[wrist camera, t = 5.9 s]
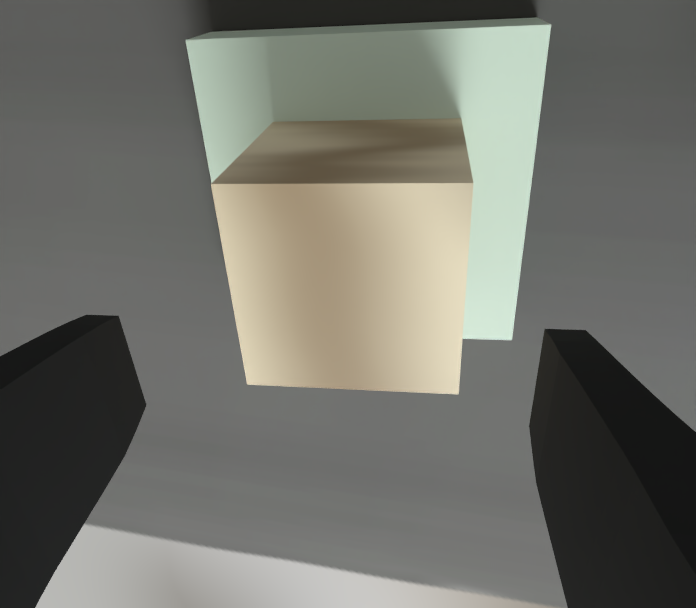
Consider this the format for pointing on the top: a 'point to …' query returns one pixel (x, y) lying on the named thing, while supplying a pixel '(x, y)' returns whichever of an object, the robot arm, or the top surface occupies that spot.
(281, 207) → the maple cube
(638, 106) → the top surface
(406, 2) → the top surface
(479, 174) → the pale green slab
